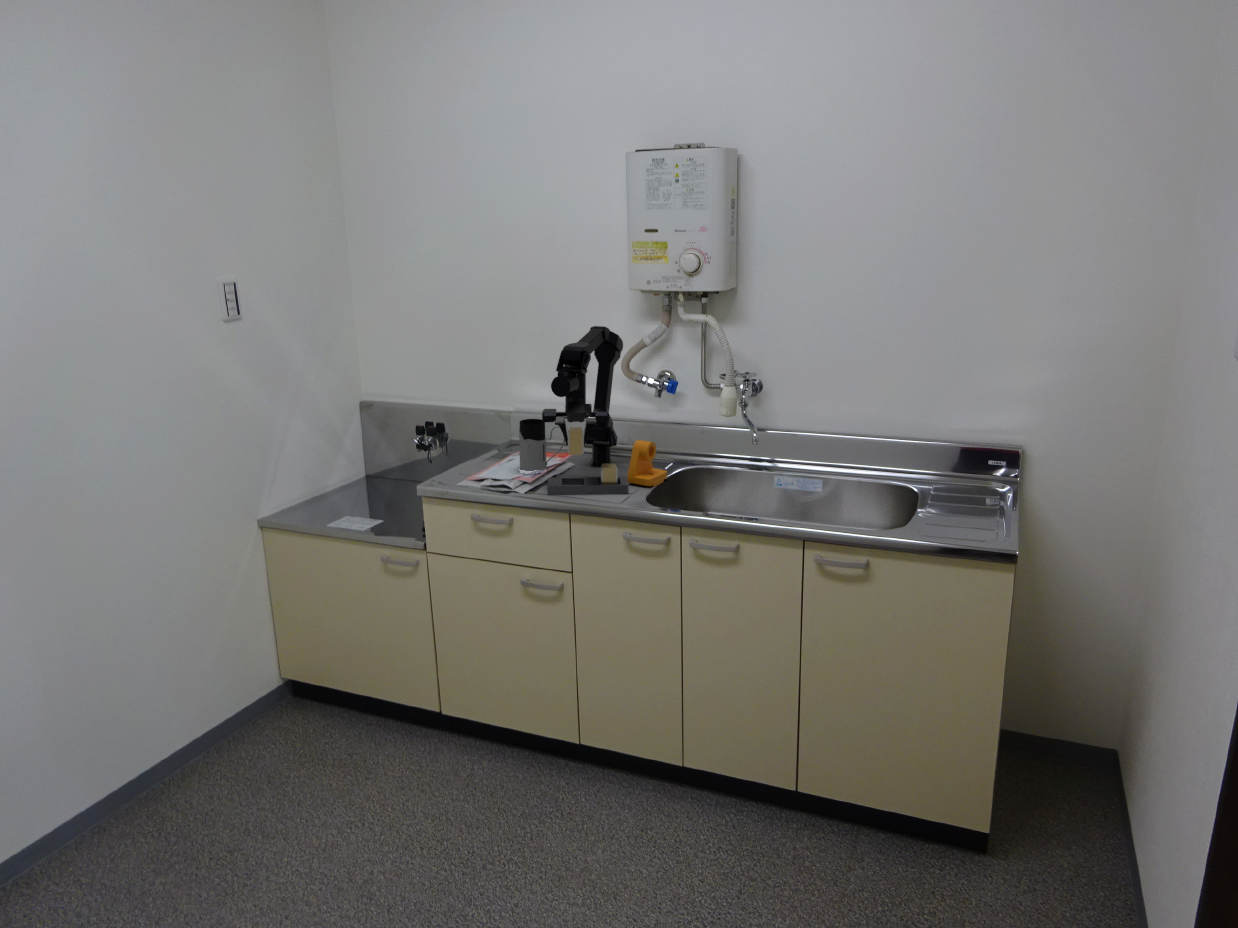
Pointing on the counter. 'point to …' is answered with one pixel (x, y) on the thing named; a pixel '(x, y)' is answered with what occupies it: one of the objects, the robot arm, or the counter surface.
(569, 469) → the counter surface
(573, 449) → the gold metal block
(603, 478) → the tan-capped ribbed block
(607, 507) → the counter surface
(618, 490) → the tray
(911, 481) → the counter surface
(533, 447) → the glass holder
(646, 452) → the bracket
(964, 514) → the counter surface
